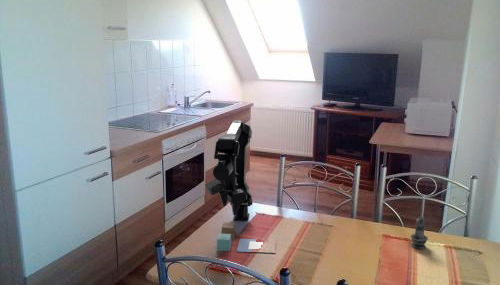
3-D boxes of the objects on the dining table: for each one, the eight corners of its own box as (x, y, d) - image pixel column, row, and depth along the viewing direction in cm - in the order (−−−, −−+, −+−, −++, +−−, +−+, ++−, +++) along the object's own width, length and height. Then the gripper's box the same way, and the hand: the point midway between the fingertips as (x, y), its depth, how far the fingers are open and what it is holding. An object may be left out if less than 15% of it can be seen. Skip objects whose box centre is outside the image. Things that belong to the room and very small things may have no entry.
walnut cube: (223, 232, 165) (223, 222, 164) (234, 233, 165) (234, 222, 163) (221, 237, 161) (221, 227, 160) (233, 238, 160) (233, 227, 159)
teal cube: (219, 244, 155) (219, 233, 154) (231, 245, 155) (231, 234, 154) (217, 250, 151) (216, 239, 150) (229, 251, 151) (229, 239, 149)
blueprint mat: (240, 239, 159) (240, 238, 159) (276, 240, 158) (276, 239, 158) (236, 252, 150) (236, 251, 149) (275, 253, 148) (275, 252, 148)
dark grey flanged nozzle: (426, 243, 154) (429, 213, 151) (427, 251, 149) (430, 220, 146) (409, 241, 156) (412, 211, 153) (410, 248, 150) (412, 218, 148)
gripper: (198, 167, 155) (200, 205, 160) (217, 183, 139) (219, 225, 144) (225, 162, 160) (226, 200, 164) (247, 177, 144) (248, 218, 148)
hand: (229, 210), depth 155 cm, fingers open, 9 cm apart
